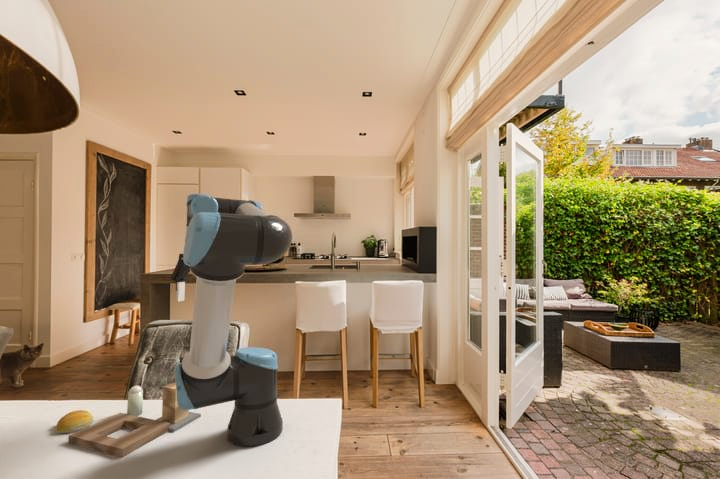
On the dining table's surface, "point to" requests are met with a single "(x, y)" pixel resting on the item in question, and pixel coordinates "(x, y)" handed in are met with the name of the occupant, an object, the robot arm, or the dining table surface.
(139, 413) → the sage shaker
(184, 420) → the slate board
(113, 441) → the walnut board
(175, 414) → the oak block
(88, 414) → the bread roll
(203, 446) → the dining table surface
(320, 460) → the dining table surface
